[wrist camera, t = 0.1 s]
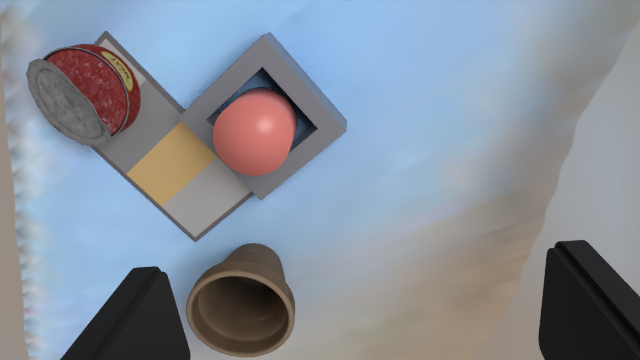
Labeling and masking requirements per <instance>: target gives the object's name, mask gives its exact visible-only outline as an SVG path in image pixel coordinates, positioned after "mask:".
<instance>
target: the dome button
mask: <svg viewBox="0 0 640 360" xmlns="http://www.w3.org/2000/svg"><path fill="white" fill-rule="evenodd" d="M297 126H298V120H297V114H296V111H295V109H294V107H293V105H292V103H291V102H290V101H289V100H288V99H287V98H286V97H285V96H284V95H283V94H282V93H280V92H278V91H276V90H274V89H270V88H265V87H258V88H253V89H249V90H247V91H245V92H244V93H242V94H241V95H240V96H239V97H237V98H236V99H235V100H234V101H233V102H232V103H231V104H230V105H229V106H228V107H227V108H226V109H225V110H223V112H222V113H221V114H220V115H219V116H218V118H217V120H216V122H215V125H214V129H213V142H214V146H215V149H216V151H217V153H218V155H219V157H220V158H221V160H222V161H223V162H224V163H225V164H226V165H227V166H228V167H230V168H231V169H233V170H235V171H236V172H239V173H241V174H245V175H250V176H259V175H265V174H268V173H270V172H272V171H274V170H276V169H277V168H278V167H279V166H280V165H281V164H282V163H283V162H284V161H285V159H286V157H287V155H288V153H289V150H290V147H291V145H292V142H293V140H294V137H295V134H296V131H297Z"/></svg>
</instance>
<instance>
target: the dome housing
mask: <svg viewBox="0 0 640 360" xmlns="http://www.w3.org/2000/svg"><path fill="white" fill-rule="evenodd" d="M262 67H263V68H264V69H265V70H266V71H267V72H268V74H269V75H270V76H271V77H272V78H273V79H274V80H275V81H276V82H277V84H278V85H279V86H280V87H281V88H282V89H283V90H284V91H285V92H286V94H287V95H288V96H289V97H290V98H291V99H292V100H293V101H294V103H295V104H296V105H297V106H298V107H299V108H300V109H301V110H302V111H303V113H304V114H305V115H306V116H307V117H308V118H309V119H310V120H311V121H312V123H313V125H312V126H311V127H310V128H308V129H307V130H306V131H305V132H304V133H302V134H301V135H300V136H299V137H298V138H297V139H295V140H294V141H293V142H292V145H291V147H290V150H289V153H288V155H287V157H286V159H285V161H284V162H283V163H282V164H281V165H280V166H279V167H278V168H277V169H276V170H274V171H272V172H270V173H268V174H265V175H259V176H250V175H245V174H241V173H239V172H236V171H235V170H233V169H231V168H230V167H228V166H227V165H226V164H225V163H224V162H223V161H222V160H221V158H220V157H219V155H218V153H217V151H216V149H215V146H214V142H213V129H214V125H215V122H216V120H217V118H218V116H219V115H220V113H219V111H218V109H219V108H220V107H221V106H222V105H223V104H224V103H225V102H226V101H227V100H228V99H229V98H230V97H231V96H233V95H234V94H235V93H236V92H237V91H238V90H239V89H240V88H241V87H242V86H243V85H244V84H245V83H246V82H247V81H249V80H250V79H251V78H252V77H253V76H254V75H255V74H256V73H257V72H258V71H259V70H260V69H261V68H262ZM178 118H179V119H180V120H181V121H182V122H183V123H184V124H185V125H186V126H187V127H188V128H189V129H190V130H191V131H192V132H193V133H194V134H195V135H196V136H197V137H198V138H199V139H200V140H201V141H202V142H203V143H204V144H205V145H206V146H207V147H208V148H209V149H210V150H211V151H212V152H213V153H214V154H215V155H216V156H217V157H218V158H219V159H220V160H221V161H222V162H223V163H224V164H225V165H226V166H227V167H228V168H229V169H230V170H231V171H232V172H233V173H234V174H235V175H236V176H237V177H238V178H239V179H240V180H241V181H242V182H243V183H244V184H245V185H246V186H247V187H248V188H249V189H250V190H251V191H252V192H253V193H254V194H255V195H256V196H257V197H258V198H259V199H260V200H262V199H263V198H264V197H266V196H267V195H268V194H269V193H271V192H272V191H273V190H274V189H276V188H277V187H278V186H279V185H281V184H282V183H283V182H284V181H285V180H287V179H288V178H289V177H290V176H292V175H293V174H294V173H295V172H297V171H298V170H299V169H300V168H302V167H303V166H304V165H305V164H306V163H308V162H309V161H310V160H311V159H313V158H314V157H315V156H316V155H318V154H319V153H320V152H321V151H322V150H324V149H325V148H326V147H327V146H329V145H330V144H331V143H332V142H334V141H335V140H336V139H337V138H339V137H340V136H341V135H342V134H343V133H345V132H346V128H347V120H346V119H345V118H344V117H343V115H342V114H341V113H340V112H339V111H338V110H337V109H336V107H335V106H334V105H333V104H332V103H331V102H330V100H329V99H328V98H327V97H326V96H325V95H324V94H323V92H322V91H321V90H320V89H319V88H318V87H317V85H316V84H315V83H314V82H313V81H312V80H311V79H310V77H309V76H308V75H307V74H306V73H305V72H304V70H303V69H302V68H301V67H300V66H299V65H298V64H297V62H296V61H295V60H294V59H293V58H292V57H291V56H290V54H289V53H288V52H287V51H286V50H285V49H284V47H283V46H282V45H281V44H280V43H279V42H278V41H277V39H276V38H275V37H274V36H273V35H272V34H271V32H269V33H267V34H265V35H263V36H262V37H261V38H260V39H259V40H258V41H257V42H256V43H255V44H254V45H253V46H251V47H250V48H249V49H248V50H247V51H246V52H245V53H244V54H243V55H242V56H241V57H240V58H239V59H238V60H237V61H236V62H235V63H234V64H233V65H232V66H231V67H230V68H229V69H228V70H227V71H226V72H225V73H224V74H223V75H222V76H221V77H220V78H219V79H218V80H216V81H215V82H214V83H213V84H212V85H211V86H210V87H209V88H208V89H207V90H206V91H205V92H204V93H203V94H202V95H201V96H200V97H199V98H198V99H197V100H196V101H195V102H194V103H193V104H192V105H191V106H190V107H189V108H188V109H187V110H186V111H185V112H184V113H182V114H181V115H180V116H179V117H178Z"/></svg>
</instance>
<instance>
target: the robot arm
mask: <svg viewBox="0 0 640 360" xmlns="http://www.w3.org/2000/svg"><path fill="white" fill-rule="evenodd" d="M539 346H540V350H541V353H542V355H543V357H544V359H545V360H640V297H639V295H638V294H637V293H636V292H635V291H634V290H633V289H632V288H631V287H630V286H629V285H628V284H627V283H626V282H625V281H624V280H623V279H622V278H621V277H620V276H619V275H618V273H616V271H615V270H613V268H612V267H611V266H610V265H609V264H608V263H607V262H606V261H605V260H604V259H603V258H602V257H601V256H600V255H599V254H598V253H597V252H596V250H595V249H594V248H593V247H592V246H591V245H590V244H589V243H588V242H586V241H585V240H577V241H560V242H557V243H556V245H555V247H554V248H550V249H548V252H547V257H546V267H545V278H544V287H543V297H542V308H541V317H540V327H539ZM60 360H190V350H189V347H188V343H187V340H186V336H185V333H184V330H183V326H182V323H181V319H180V316H179V313H178V309H177V306H176V302H175V299H174V296H173V292H172V289H171V285H170V282H169V279H168V276H167V274H166V273H165V272H161V270H160V269H159V268H158V267H156V266H155V267H139V268H133V269H132V270H131V271H130V272H129V274H128V275H127V276H126V278H125V279H124V280H123V281H122V283H121V284H120V285H119V286H118V288H117V289H116V290H115V291H114V293H113V294H112V295H111V296H110V298H109V299H108V300H107V301H106V303H105V304H104V305H103V306H102V308H101V309H100V310H99V312H98V313H97V314H96V315H95V317H94V318H93V319H92V320H91V322H90V323H89V324H88V325H87V327H86V328H85V329H84V330H83V332H82V333H81V334H80V335H79V337H78V338H77V339H76V340H75V342H74V343H73V344H72V346H71V347H70V348H69V349H68V351H67V352H66V353H65V354H64V356H63V357H62V358H61V359H60Z"/></svg>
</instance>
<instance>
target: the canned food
mask: <svg viewBox="0 0 640 360" xmlns="http://www.w3.org/2000/svg"><path fill="white" fill-rule="evenodd" d="M26 75H27V79H28V84H29V90H30V92H31V94H32V95H33V97H34V99H35V102H36V104H37V106H38V108H39V109H40V110H41V112H42V113H43V115H44V117H45V118H46V119H47V120H48V121H49V123H50V124H51V125H52V126H53V127H55V128H56V129H57V130H58V131H59V132H61V133H62V134H64V135H65V136H67V137H69V138H71V139H73V140H75V141H77V142H79V143H80V144H82V145H90V146H93V147H99V146H102V145H107V144H108V142H109V141H110V139H111V138H112V137H114V136H115V135H117V134H118V133H120V132H122V131H124V130H125V129H127V128H128V127H130V126H131V125H132V123H133V122H134V121H135V119H136V118H137V116H138V114H139V110H140V107H141V92H140V87H139V84H138V81H137V79H136V77H135V75H134V73H133V71H132V70H131V68H130V67H129V66H128V64H127V63H126V62H125V61H124V60H123V59H122V58H121V57H120V56H118V55H117V54H115V53H114V52H112V51H111V50H108V49H106V48H104V47H102V46H98V45H94V44H80V45H75V46H71V47H64V48H59V49H56V50H54V51H51V52H50V53H49V54H47V55H46V56H45V57H44V58H43V59H37V60H34V61H32V62H30V63H29V68H28V71H27V73H26Z"/></svg>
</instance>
